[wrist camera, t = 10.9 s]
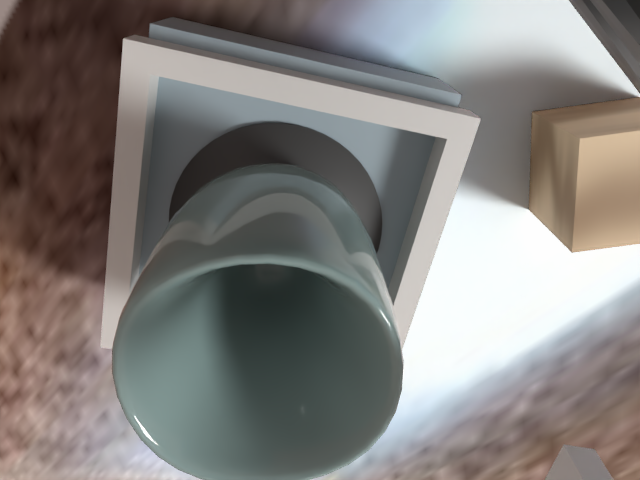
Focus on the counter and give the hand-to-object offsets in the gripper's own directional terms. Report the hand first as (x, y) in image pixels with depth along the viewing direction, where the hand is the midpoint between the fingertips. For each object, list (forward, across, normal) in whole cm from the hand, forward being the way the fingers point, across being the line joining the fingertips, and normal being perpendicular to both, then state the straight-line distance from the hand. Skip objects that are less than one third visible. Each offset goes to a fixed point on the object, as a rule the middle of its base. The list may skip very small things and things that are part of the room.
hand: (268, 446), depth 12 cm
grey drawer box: (+17, 0, 0) cm, 17 cm away
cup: (+13, 0, 0) cm, 13 cm away
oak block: (+17, +14, +4) cm, 22 cm away
